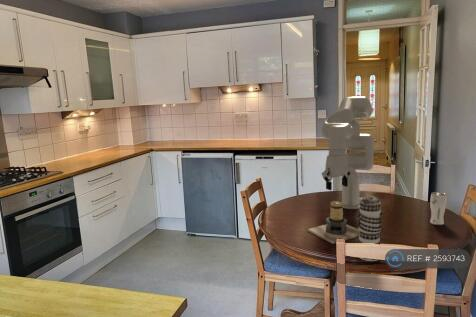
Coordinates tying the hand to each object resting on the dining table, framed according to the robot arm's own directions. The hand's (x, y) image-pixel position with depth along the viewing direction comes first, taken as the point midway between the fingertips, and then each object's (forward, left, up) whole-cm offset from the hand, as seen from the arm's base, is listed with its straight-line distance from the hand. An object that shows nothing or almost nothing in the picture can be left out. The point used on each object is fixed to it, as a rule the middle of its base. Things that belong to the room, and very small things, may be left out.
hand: (336, 187), depth 170 cm
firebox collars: (0, 0, -22) cm, 22 cm away
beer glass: (-50, +17, -23) cm, 57 cm away
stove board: (0, 0, -22) cm, 22 cm away
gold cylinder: (0, 0, -21) cm, 21 cm away
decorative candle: (+6, +26, -23) cm, 35 cm away
